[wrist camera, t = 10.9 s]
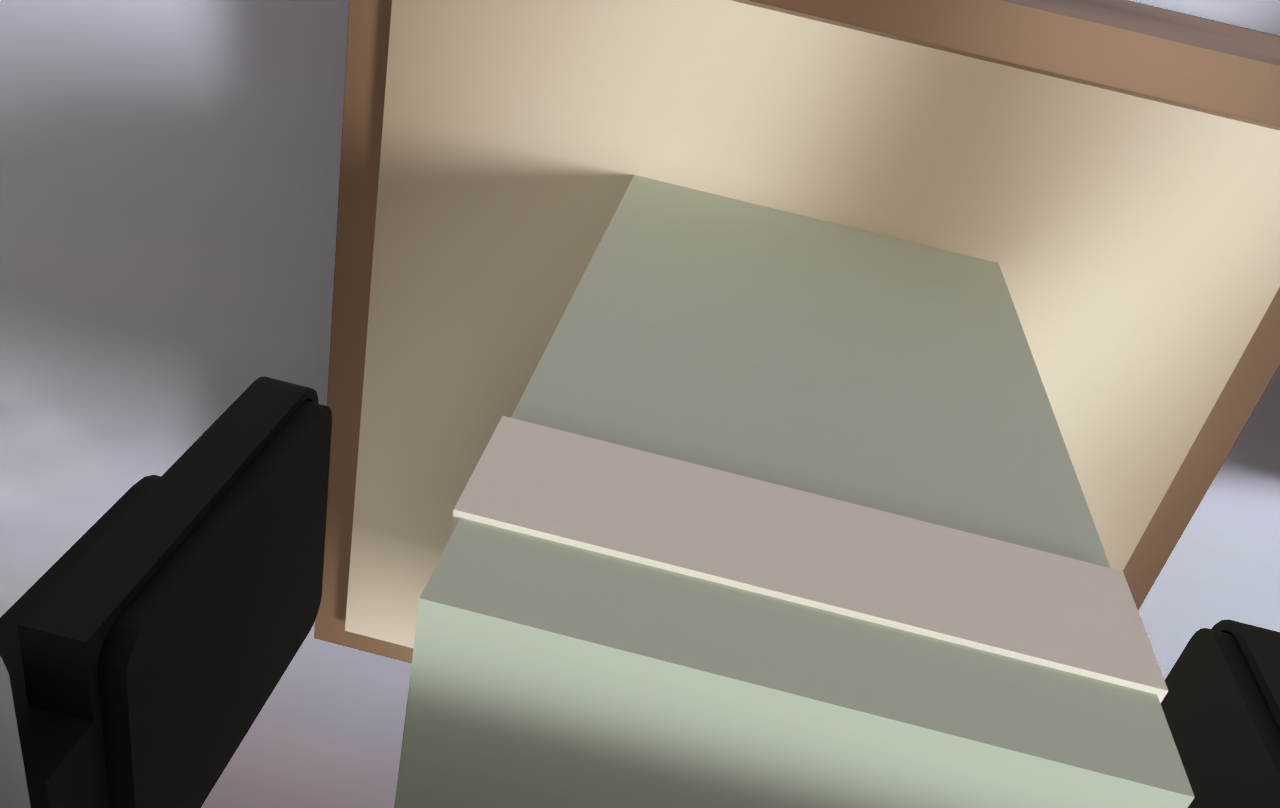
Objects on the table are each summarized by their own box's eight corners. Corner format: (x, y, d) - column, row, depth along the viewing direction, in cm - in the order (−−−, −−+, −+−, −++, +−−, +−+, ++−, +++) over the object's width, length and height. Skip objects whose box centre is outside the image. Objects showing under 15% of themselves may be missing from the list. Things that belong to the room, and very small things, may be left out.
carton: (1004, 260, 13) (1208, 794, 6) (844, 658, 16) (857, 1292, 9) (631, 169, 13) (411, 590, 6) (548, 582, 16) (348, 1153, 10)
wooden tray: (1320, 45, 14) (1442, 107, 11) (992, 689, 20) (1019, 833, 17) (441, -161, 15) (349, -151, 12) (378, 532, 21) (308, 648, 18)
